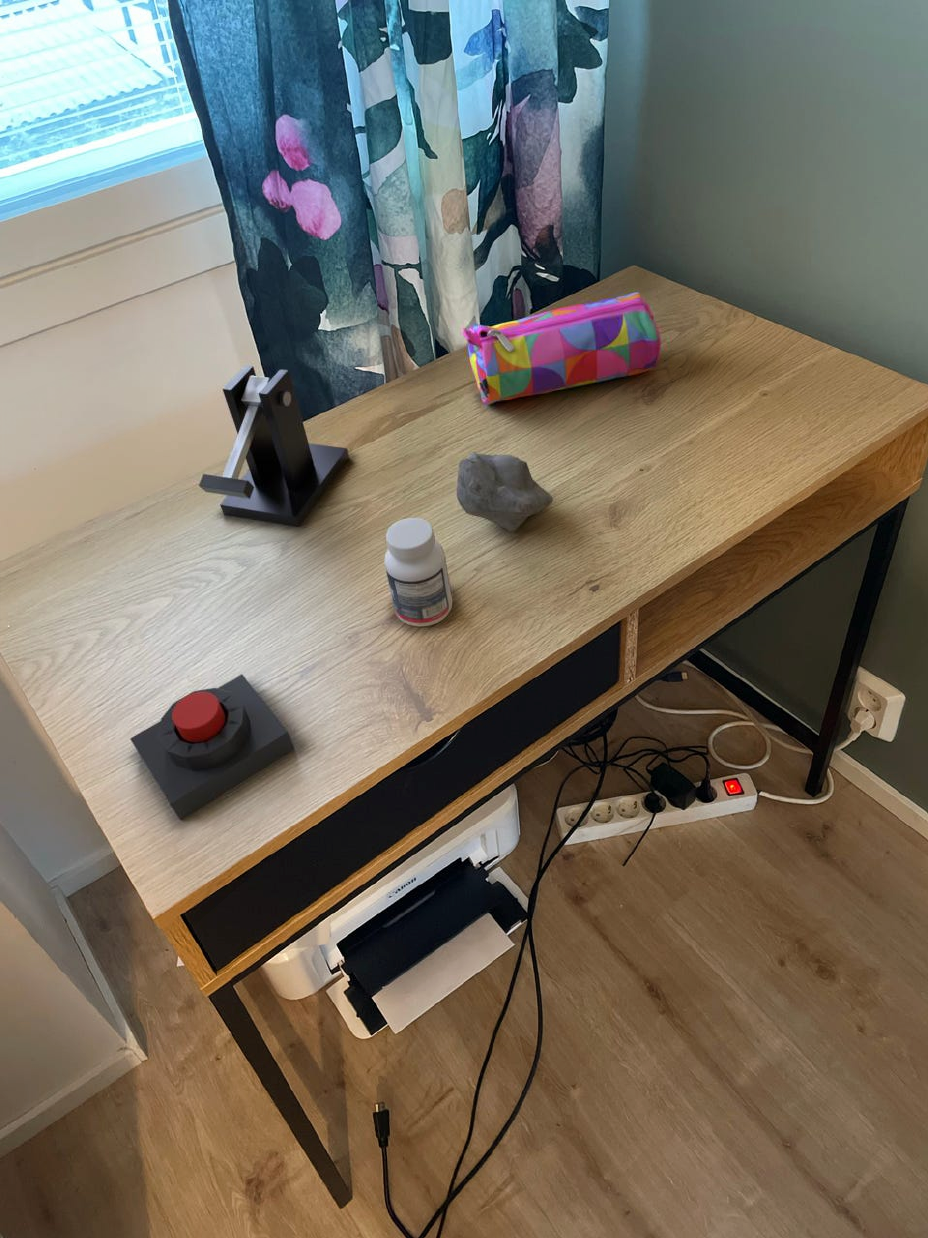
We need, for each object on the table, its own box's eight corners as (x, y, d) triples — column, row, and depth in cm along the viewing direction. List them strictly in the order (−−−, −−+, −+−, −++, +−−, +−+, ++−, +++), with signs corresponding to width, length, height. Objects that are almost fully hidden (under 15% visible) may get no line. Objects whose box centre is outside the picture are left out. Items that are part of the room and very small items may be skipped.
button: (191, 751, 67) (183, 737, 66) (171, 722, 69) (164, 708, 68) (233, 725, 69) (227, 711, 67) (213, 698, 71) (206, 683, 69)
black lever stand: (299, 527, 91) (266, 418, 81) (223, 514, 93) (183, 408, 84) (349, 457, 98) (324, 351, 89) (277, 448, 101) (246, 344, 92)
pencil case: (480, 425, 100) (472, 351, 93) (461, 382, 106) (453, 311, 100) (666, 384, 102) (671, 310, 95) (636, 345, 108) (639, 273, 102)
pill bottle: (403, 585, 83) (387, 510, 77) (458, 588, 82) (446, 512, 76) (388, 626, 79) (371, 551, 73) (446, 630, 78) (433, 554, 72)
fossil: (577, 526, 86) (576, 457, 80) (504, 570, 83) (497, 502, 77) (505, 476, 93) (499, 409, 87) (435, 514, 90) (424, 448, 84)
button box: (180, 820, 67) (161, 791, 65) (139, 754, 72) (121, 724, 69) (295, 749, 71) (282, 717, 68) (249, 690, 76) (235, 659, 73)
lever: (252, 501, 85) (240, 490, 83) (208, 494, 87) (195, 483, 85) (292, 392, 89) (282, 378, 86) (249, 387, 90) (237, 373, 88)
